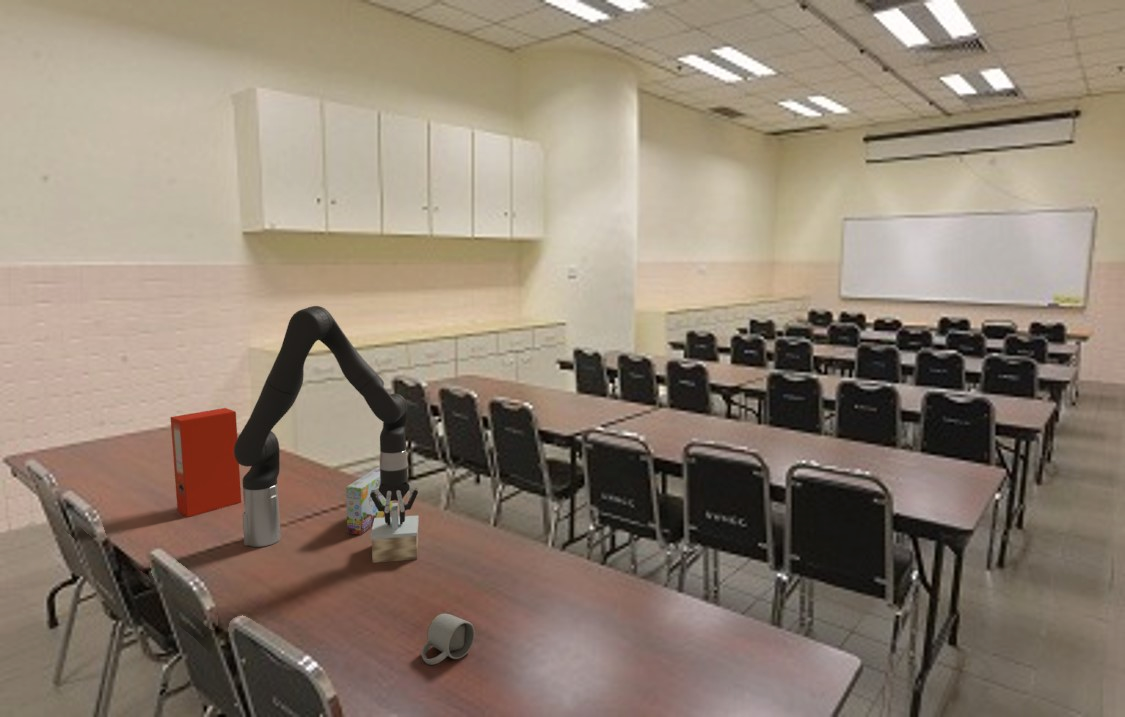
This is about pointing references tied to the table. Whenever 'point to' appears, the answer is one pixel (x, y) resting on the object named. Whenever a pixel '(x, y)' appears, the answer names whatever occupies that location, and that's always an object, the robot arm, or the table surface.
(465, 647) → the ceramic mug
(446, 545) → the table surface
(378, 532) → the lid
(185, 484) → the file binder
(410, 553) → the box
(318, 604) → the table surface
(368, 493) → the snack box
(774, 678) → the table surface
